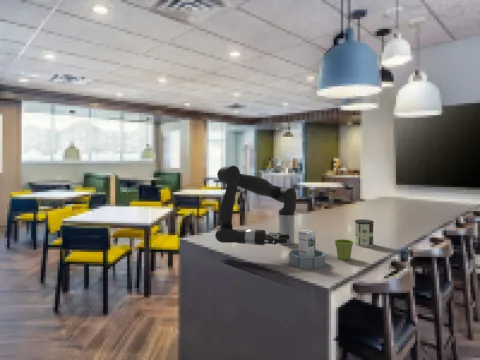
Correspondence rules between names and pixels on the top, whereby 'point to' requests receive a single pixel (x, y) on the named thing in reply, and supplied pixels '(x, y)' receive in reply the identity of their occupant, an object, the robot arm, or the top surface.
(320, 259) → the bowl
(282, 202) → the robot arm
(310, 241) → the syrup box
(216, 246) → the top surface
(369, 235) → the coffee can
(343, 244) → the plant pot
